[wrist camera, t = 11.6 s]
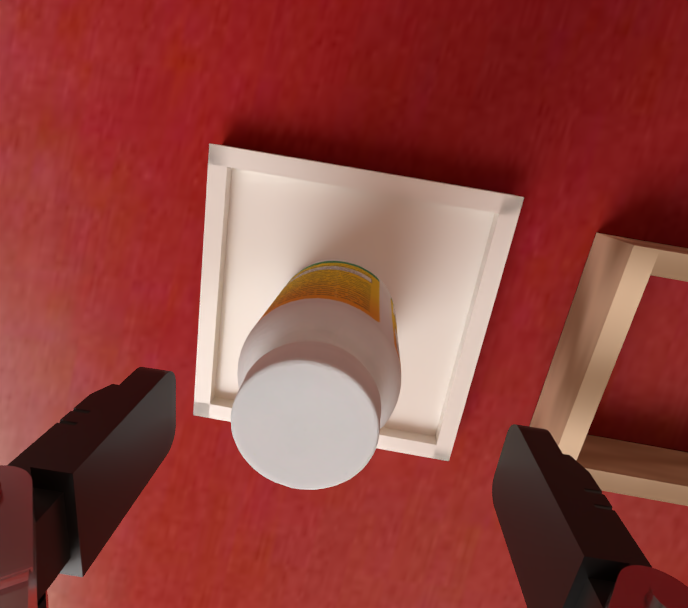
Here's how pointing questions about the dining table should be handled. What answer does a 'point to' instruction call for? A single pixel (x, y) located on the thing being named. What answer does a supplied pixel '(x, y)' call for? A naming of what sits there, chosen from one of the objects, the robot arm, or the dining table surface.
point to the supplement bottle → (318, 377)
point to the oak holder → (609, 369)
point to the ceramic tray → (364, 249)
